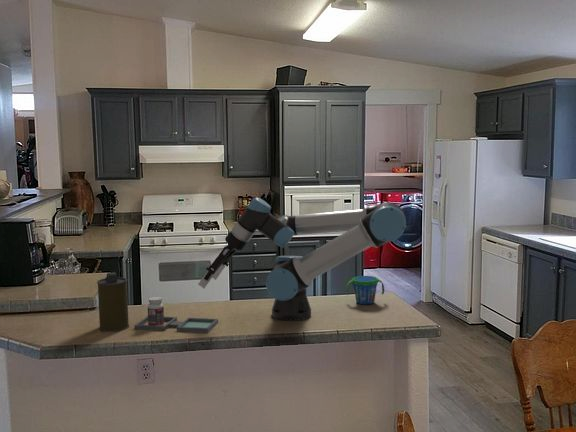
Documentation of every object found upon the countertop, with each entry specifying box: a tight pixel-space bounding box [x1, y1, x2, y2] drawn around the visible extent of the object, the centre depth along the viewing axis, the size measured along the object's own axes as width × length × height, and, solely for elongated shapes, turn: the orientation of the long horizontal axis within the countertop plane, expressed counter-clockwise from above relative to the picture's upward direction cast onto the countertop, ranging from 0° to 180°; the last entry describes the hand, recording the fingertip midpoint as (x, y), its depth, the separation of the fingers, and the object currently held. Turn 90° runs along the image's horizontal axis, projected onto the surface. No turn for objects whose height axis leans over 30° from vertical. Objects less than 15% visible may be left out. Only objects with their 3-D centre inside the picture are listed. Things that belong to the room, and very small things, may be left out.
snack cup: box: [345, 275, 385, 305], centre depth 237 cm, size 16×10×10 cm
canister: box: [96, 272, 130, 333], centre depth 208 cm, size 11×10×20 cm
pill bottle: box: [147, 296, 165, 326], centre depth 211 cm, size 6×6×10 cm
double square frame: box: [133, 315, 219, 333], centre depth 210 cm, size 28×12×1 cm, turn 80°
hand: (207, 281), depth 212 cm, fingers open, 13 cm apart
